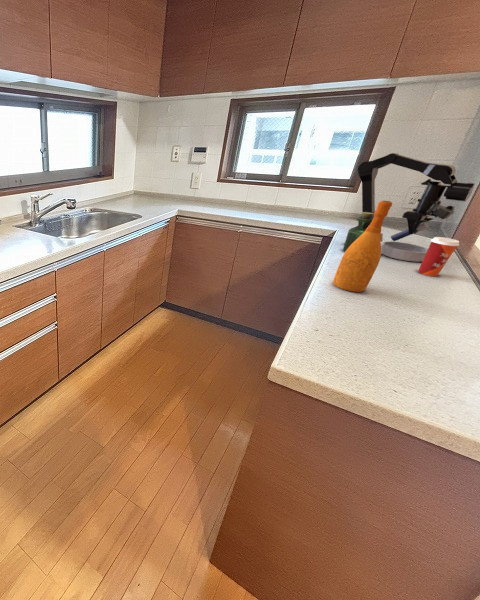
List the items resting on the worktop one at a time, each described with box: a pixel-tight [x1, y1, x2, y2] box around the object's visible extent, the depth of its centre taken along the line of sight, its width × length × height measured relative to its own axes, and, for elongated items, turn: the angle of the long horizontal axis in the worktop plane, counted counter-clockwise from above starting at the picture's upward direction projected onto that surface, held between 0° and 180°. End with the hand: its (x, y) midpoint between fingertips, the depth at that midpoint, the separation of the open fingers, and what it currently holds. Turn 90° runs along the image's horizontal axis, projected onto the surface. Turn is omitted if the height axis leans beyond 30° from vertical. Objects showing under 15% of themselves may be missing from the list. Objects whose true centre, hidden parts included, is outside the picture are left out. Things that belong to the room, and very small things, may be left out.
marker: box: [390, 222, 430, 242], centre depth 143 cm, size 3×3×12 cm
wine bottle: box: [332, 200, 393, 293], centre depth 108 cm, size 10×10×30 cm
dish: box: [381, 240, 428, 263], centre depth 146 cm, size 16×16×4 cm
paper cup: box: [417, 236, 460, 277], centre depth 126 cm, size 8×8×14 cm
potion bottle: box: [342, 211, 373, 253], centre depth 147 cm, size 8×8×18 cm
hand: (412, 233), depth 142 cm, fingers closed on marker, 3 cm apart
